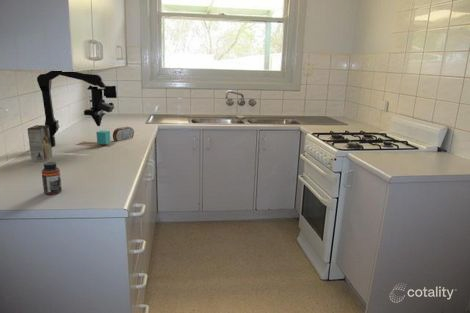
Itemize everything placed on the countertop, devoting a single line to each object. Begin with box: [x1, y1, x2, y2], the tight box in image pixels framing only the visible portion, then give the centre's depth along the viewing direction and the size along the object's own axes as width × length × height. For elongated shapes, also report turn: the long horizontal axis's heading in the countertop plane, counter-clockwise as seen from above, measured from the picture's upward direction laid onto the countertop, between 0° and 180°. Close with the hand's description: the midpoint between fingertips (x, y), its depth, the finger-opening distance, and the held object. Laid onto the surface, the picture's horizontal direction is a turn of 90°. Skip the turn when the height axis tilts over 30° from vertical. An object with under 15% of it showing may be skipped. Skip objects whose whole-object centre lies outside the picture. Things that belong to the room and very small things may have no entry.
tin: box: [112, 126, 135, 142], centre depth 219 cm, size 15×3×8 cm, turn 150°
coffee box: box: [27, 124, 53, 162], centre depth 175 cm, size 9×6×16 cm
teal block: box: [96, 129, 111, 144], centre depth 203 cm, size 5×5×7 cm
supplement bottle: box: [41, 161, 63, 196], centre depth 133 cm, size 6×6×11 cm
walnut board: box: [75, 141, 116, 148], centre depth 205 cm, size 9×20×1 cm, turn 82°
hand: (98, 126), depth 202 cm, fingers closed
